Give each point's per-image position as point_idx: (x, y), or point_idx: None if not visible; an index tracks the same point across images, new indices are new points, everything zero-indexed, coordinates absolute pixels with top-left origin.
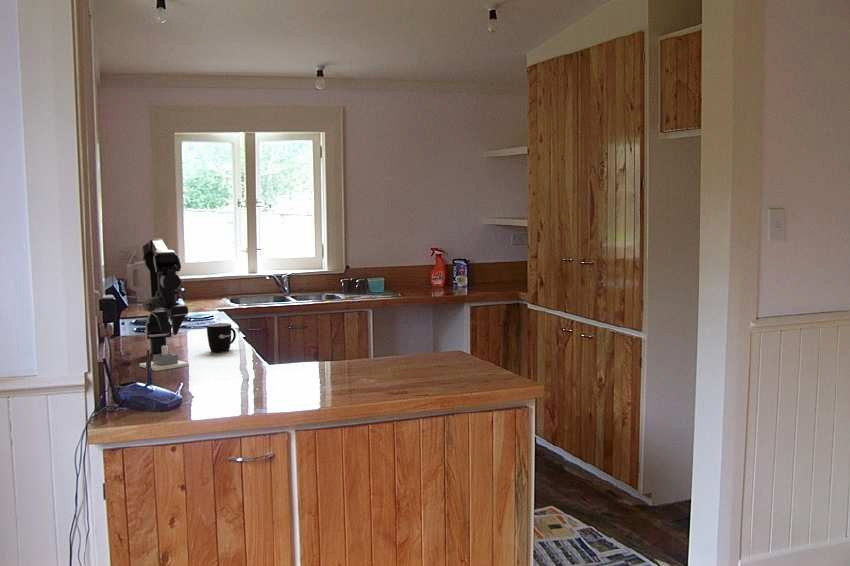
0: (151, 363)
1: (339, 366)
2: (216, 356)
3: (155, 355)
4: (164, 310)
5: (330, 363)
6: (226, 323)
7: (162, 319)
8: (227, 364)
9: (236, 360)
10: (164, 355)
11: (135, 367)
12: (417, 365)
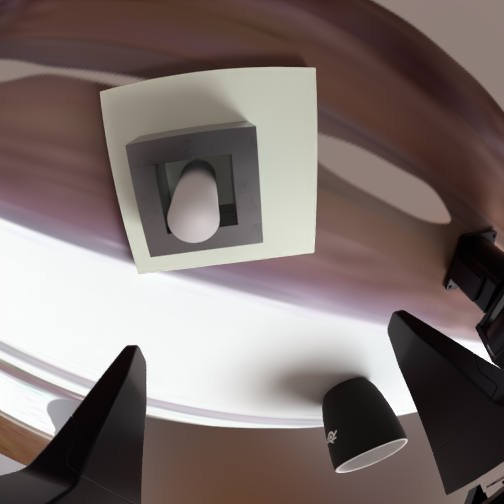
0: (265, 116)
1: (14, 426)
2: (276, 379)
3: (220, 133)
4: (481, 484)
5: (40, 435)
6: (373, 462)
7: (453, 410)
8: (96, 360)
9: (155, 393)
10: (177, 184)
11: (302, 44)
12: (10, 447)
